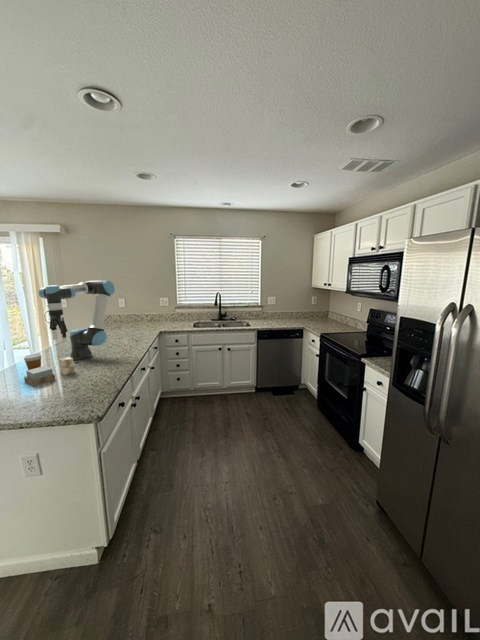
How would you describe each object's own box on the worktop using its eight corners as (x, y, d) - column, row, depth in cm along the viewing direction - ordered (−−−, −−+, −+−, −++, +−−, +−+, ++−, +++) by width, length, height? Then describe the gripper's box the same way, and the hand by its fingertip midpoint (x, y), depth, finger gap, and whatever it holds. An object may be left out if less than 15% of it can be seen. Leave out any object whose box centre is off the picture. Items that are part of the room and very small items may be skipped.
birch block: (70, 370, 183) (68, 356, 181) (74, 372, 179) (72, 358, 178) (60, 373, 178) (58, 359, 176) (65, 374, 174) (63, 360, 173)
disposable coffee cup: (29, 371, 181) (26, 354, 179) (45, 369, 185) (43, 353, 182) (23, 376, 173) (20, 359, 170) (41, 374, 176) (38, 357, 174)
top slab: (45, 371, 171) (44, 365, 171) (52, 374, 166) (52, 368, 166) (27, 376, 163) (26, 370, 162) (34, 380, 158) (33, 373, 157)
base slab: (46, 376, 173) (46, 370, 173) (55, 380, 167) (54, 374, 166) (25, 382, 164) (23, 376, 163) (33, 387, 157) (32, 381, 156)
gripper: (40, 308, 173) (45, 339, 177) (57, 311, 159) (62, 345, 164) (53, 307, 179) (58, 337, 183) (70, 310, 166) (75, 342, 170)
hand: (60, 340), depth 173 cm, fingers open, 13 cm apart
